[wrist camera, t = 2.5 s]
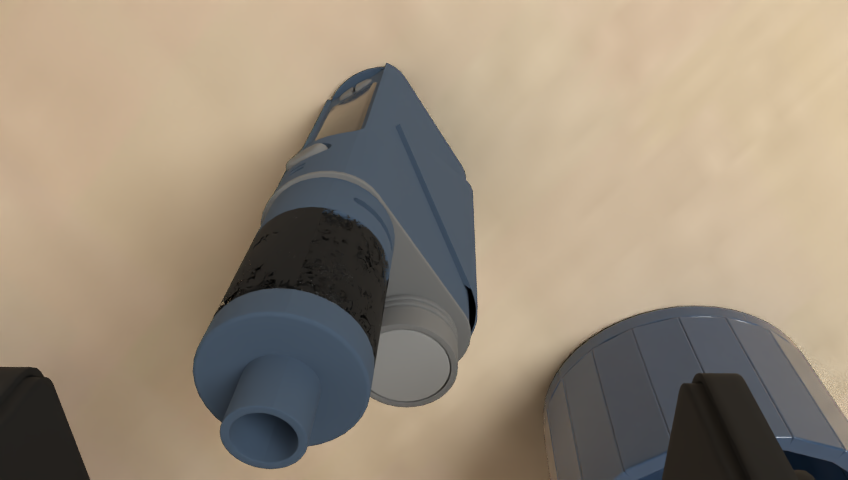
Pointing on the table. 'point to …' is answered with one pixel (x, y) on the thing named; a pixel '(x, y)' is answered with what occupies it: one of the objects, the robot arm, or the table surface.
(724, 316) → the pen cup
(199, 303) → the table surface
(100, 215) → the table surface
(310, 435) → the vaping device
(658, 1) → the table surface
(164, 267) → the table surface
